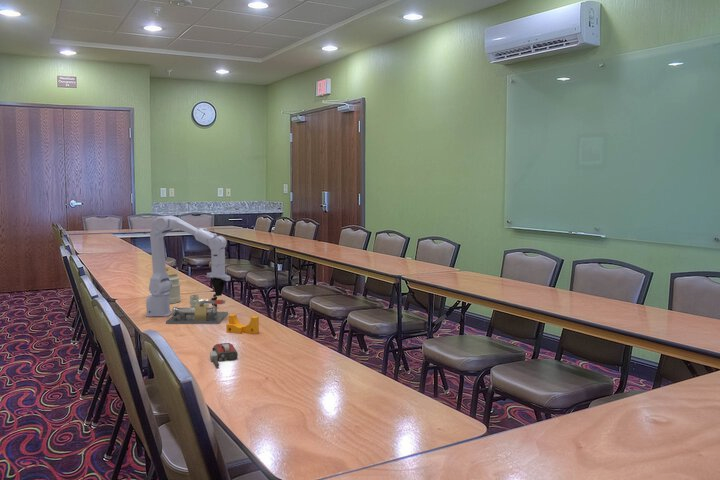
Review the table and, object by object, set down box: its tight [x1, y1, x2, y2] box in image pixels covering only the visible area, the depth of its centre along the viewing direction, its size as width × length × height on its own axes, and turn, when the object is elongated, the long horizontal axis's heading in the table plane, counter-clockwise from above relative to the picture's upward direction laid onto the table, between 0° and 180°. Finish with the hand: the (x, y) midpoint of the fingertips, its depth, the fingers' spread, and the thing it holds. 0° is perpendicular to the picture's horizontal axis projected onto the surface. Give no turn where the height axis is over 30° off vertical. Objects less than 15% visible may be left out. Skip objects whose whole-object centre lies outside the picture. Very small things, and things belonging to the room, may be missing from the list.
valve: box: [189, 293, 218, 308], centre depth 274 cm, size 7×7×12 cm
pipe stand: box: [165, 304, 228, 325], centre depth 254 cm, size 22×18×6 cm
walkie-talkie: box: [209, 342, 239, 367], centre depth 198 cm, size 9×4×20 cm
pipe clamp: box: [225, 313, 260, 335], centre depth 232 cm, size 12×4×6 cm, turn 69°
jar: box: [166, 265, 181, 305], centre depth 289 cm, size 13×13×18 cm
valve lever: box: [200, 299, 226, 306], centre depth 253 cm, size 11×2×2 cm, turn 90°
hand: (218, 295), depth 256 cm, fingers closed
